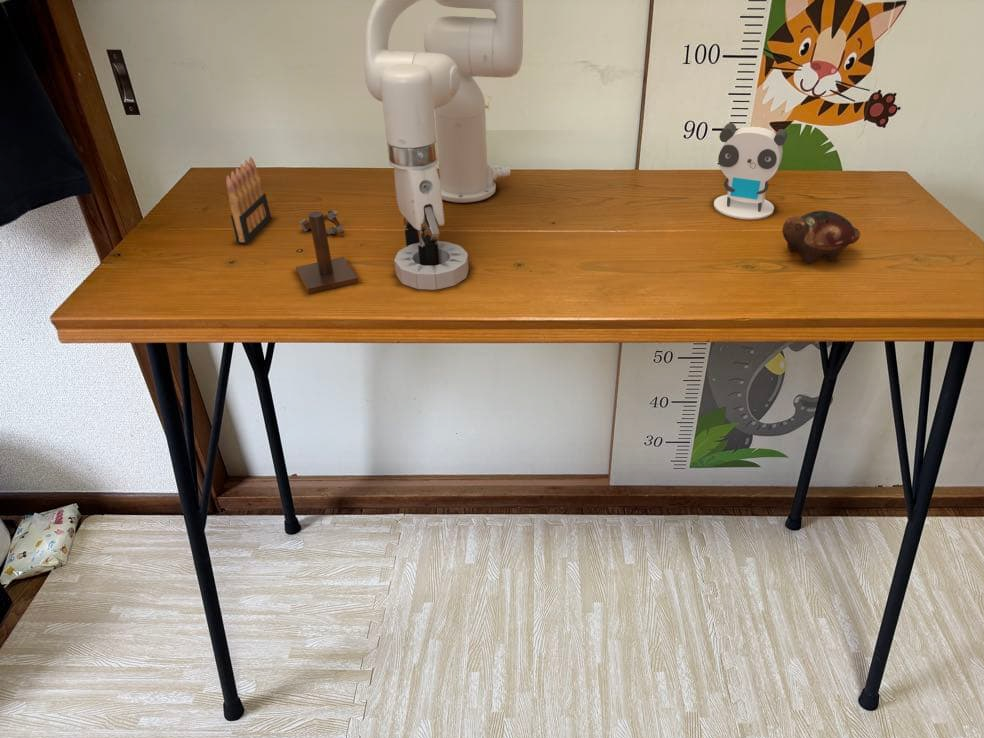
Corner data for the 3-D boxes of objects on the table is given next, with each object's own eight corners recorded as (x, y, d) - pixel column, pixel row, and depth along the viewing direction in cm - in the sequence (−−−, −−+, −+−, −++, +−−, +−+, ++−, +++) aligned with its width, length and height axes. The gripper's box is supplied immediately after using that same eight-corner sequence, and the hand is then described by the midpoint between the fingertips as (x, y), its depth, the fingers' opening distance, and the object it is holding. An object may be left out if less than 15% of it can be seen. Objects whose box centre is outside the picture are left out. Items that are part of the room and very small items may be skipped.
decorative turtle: (760, 252, 133) (770, 207, 129) (828, 242, 139) (840, 199, 134) (796, 274, 126) (808, 227, 122) (867, 263, 131) (881, 218, 127)
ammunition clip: (247, 244, 134) (230, 177, 127) (237, 243, 134) (219, 177, 127) (271, 218, 143) (257, 154, 135) (262, 218, 143) (247, 154, 135)
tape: (451, 250, 133) (450, 235, 131) (479, 279, 125) (478, 264, 123) (387, 264, 129) (385, 249, 127) (411, 295, 121) (409, 280, 119)
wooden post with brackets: (344, 233, 136) (331, 210, 134) (312, 244, 139) (299, 221, 137) (350, 229, 137) (337, 206, 135) (317, 240, 141) (304, 217, 139)
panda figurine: (704, 212, 146) (716, 133, 137) (717, 191, 154) (728, 115, 145) (768, 223, 143) (784, 142, 133) (777, 200, 151) (793, 123, 142)
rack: (344, 262, 129) (334, 200, 123) (358, 282, 124) (348, 219, 117) (296, 272, 126) (283, 209, 120) (309, 294, 121) (295, 229, 114)
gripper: (456, 166, 114) (463, 275, 125) (416, 131, 126) (425, 233, 137) (408, 175, 111) (419, 285, 122) (372, 138, 123) (385, 242, 134)
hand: (422, 257), depth 129 cm, fingers open, 5 cm apart
